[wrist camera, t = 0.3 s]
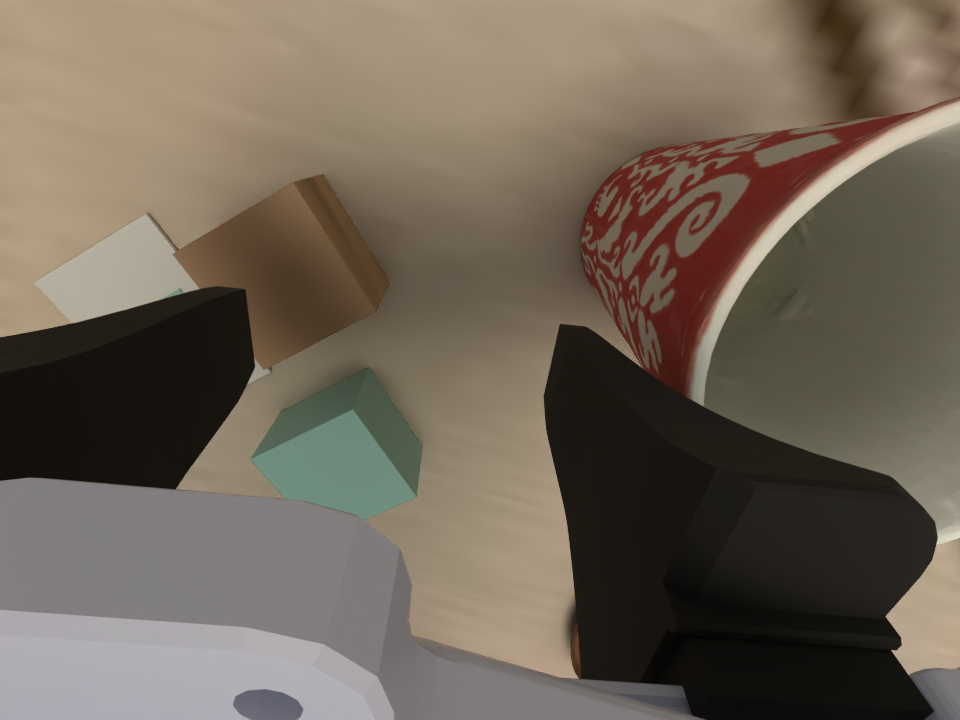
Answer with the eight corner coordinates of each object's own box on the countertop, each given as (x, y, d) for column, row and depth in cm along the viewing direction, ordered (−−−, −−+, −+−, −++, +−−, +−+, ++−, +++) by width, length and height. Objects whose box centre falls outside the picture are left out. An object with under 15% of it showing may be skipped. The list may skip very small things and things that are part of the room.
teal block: (339, 482, 26) (320, 539, 22) (281, 410, 24) (250, 459, 20) (422, 444, 25) (416, 496, 21) (369, 366, 23) (352, 409, 20)
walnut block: (295, 332, 22) (263, 370, 19) (223, 233, 20) (171, 253, 17) (390, 281, 22) (376, 311, 18) (324, 174, 20) (293, 182, 16)
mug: (515, 204, 20) (600, 306, 8) (721, 66, 18) (1237, -76, 6) (645, 422, 25) (826, 699, 13) (820, 328, 23) (1229, 545, 11)
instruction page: (170, 424, 24) (166, 427, 24) (37, 281, 21) (32, 283, 20) (271, 370, 23) (269, 373, 23) (148, 213, 20) (144, 214, 20)
